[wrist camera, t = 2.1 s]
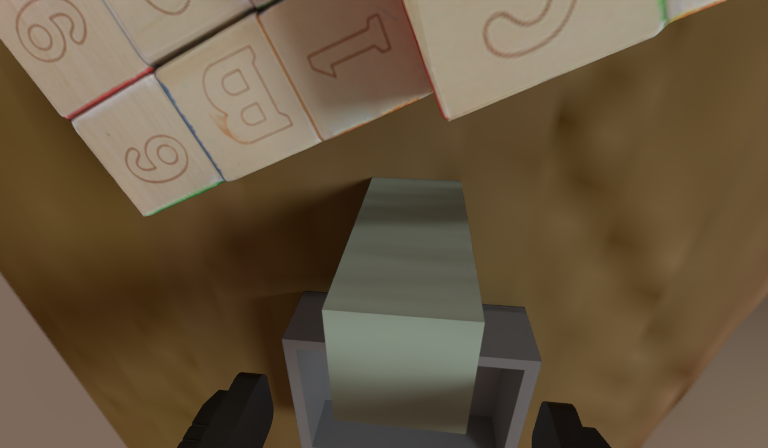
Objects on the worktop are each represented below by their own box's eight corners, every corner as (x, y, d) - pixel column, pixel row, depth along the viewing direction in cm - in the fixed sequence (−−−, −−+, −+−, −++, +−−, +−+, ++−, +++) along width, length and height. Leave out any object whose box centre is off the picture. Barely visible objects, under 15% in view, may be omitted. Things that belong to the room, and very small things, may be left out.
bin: (304, 291, 23) (281, 338, 20) (524, 307, 22) (541, 361, 19) (318, 398, 28) (302, 452, 25) (499, 417, 27) (508, 476, 24)
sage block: (372, 177, 19) (321, 309, 11) (461, 180, 19) (484, 322, 10) (373, 258, 22) (334, 419, 13) (452, 262, 21) (465, 434, 12)
